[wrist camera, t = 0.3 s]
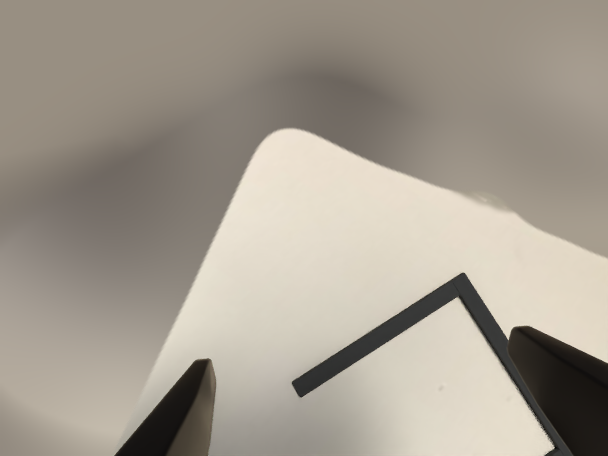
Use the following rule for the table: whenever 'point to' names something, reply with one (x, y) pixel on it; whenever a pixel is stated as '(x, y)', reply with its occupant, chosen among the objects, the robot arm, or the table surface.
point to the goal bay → (412, 316)
